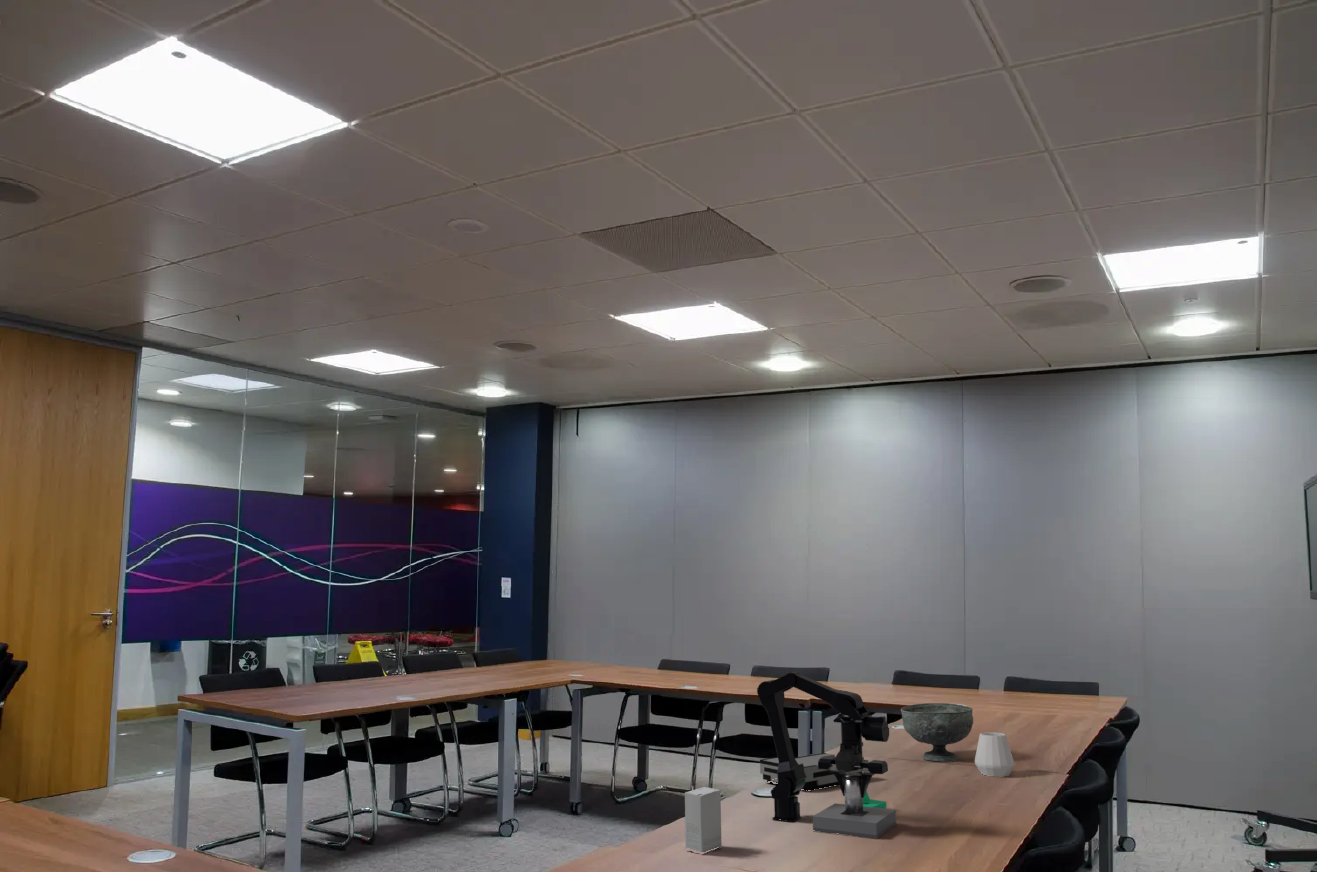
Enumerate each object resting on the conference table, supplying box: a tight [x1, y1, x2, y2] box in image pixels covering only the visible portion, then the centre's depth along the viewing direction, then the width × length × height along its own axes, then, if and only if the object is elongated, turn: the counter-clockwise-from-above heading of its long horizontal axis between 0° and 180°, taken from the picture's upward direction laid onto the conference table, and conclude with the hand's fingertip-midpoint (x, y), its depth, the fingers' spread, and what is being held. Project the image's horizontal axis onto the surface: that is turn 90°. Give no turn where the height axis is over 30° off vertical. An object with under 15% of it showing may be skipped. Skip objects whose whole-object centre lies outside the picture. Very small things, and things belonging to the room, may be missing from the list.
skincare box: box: [684, 786, 723, 852], centre depth 253 cm, size 8×6×15 cm
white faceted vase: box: [974, 731, 1015, 777], centre depth 347 cm, size 13×13×14 cm
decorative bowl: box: [900, 702, 974, 763], centre depth 379 cm, size 26×26×20 cm
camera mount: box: [863, 791, 888, 809], centre depth 293 cm, size 12×8×10 cm, turn 138°
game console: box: [759, 752, 870, 791], centre depth 338 cm, size 21×32×8 cm, turn 127°
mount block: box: [812, 803, 897, 840], centre depth 273 cm, size 18×18×4 cm
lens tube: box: [843, 773, 863, 814], centre depth 275 cm, size 6×6×10 cm
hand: (853, 796), depth 274 cm, fingers closed on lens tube, 5 cm apart
